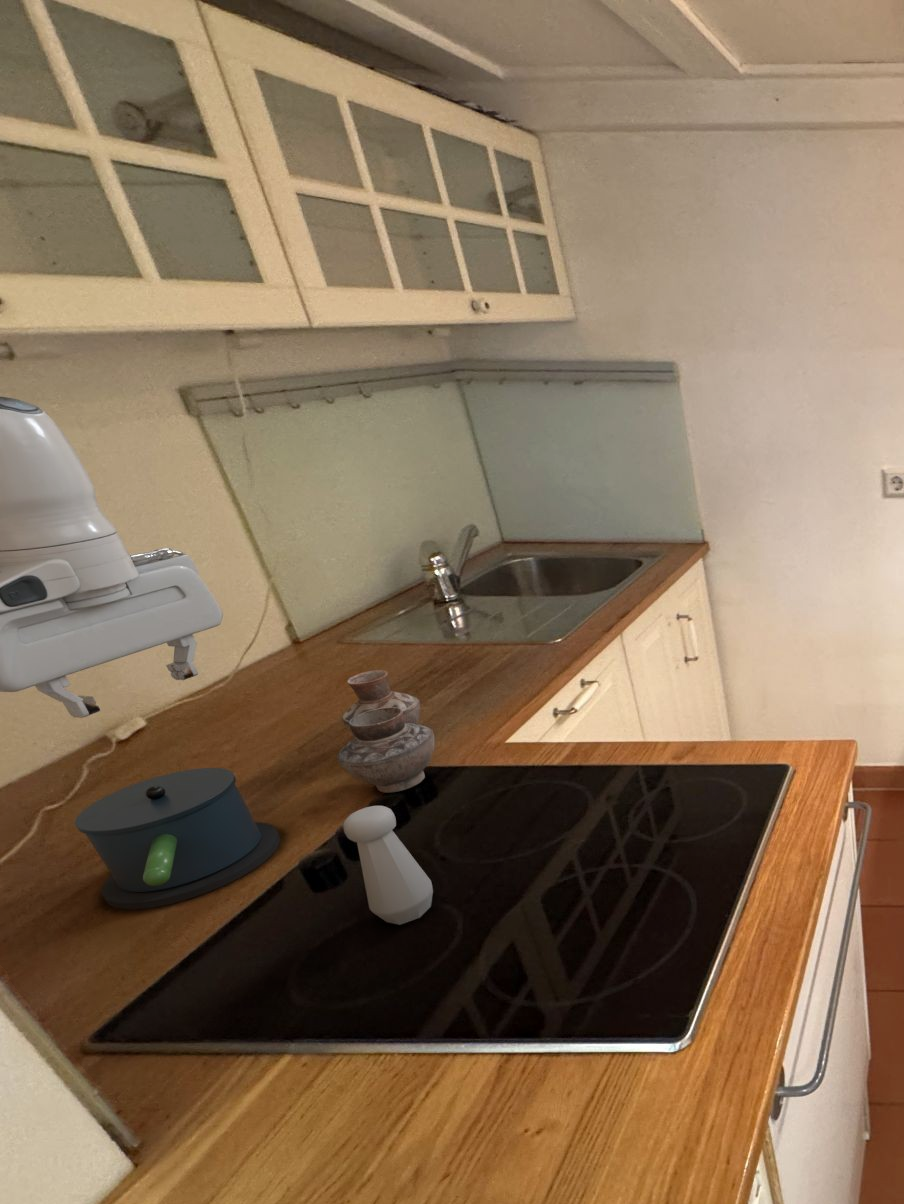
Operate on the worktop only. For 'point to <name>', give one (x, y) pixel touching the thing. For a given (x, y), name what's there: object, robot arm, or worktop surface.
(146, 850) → the pot
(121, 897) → the trivet
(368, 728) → the pottery
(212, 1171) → the worktop surface
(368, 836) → the salt shaker
